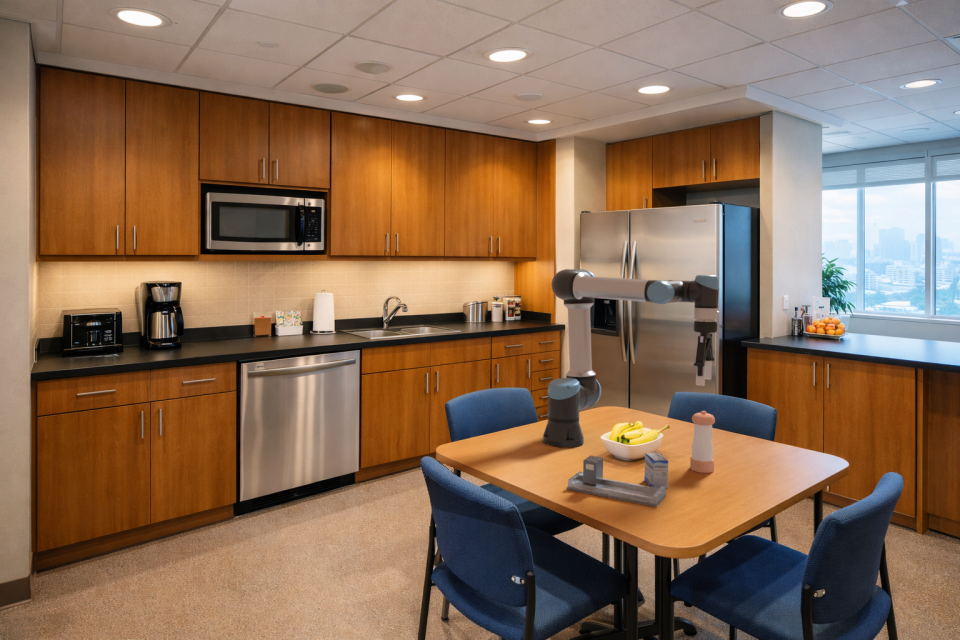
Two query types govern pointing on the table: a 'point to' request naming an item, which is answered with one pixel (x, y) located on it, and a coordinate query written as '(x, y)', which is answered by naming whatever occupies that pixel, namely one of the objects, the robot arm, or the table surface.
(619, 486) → the rail
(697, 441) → the pepper shaker
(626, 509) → the table surface
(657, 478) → the medicine box
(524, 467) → the table surface
